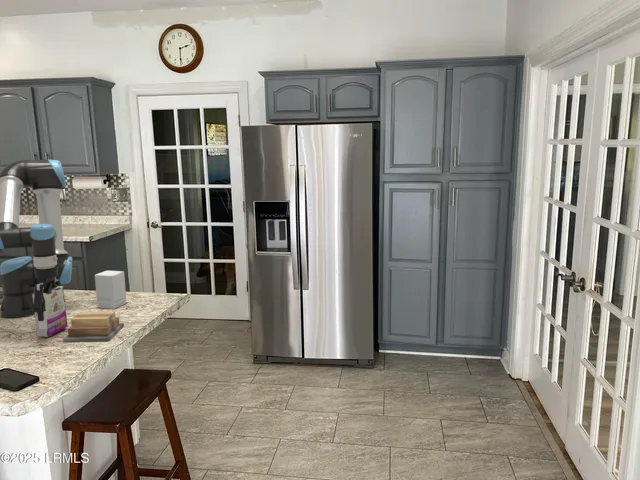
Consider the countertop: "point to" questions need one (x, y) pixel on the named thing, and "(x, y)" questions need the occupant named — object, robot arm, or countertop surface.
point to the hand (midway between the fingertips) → (51, 322)
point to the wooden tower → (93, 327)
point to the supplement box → (110, 289)
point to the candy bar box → (53, 312)
